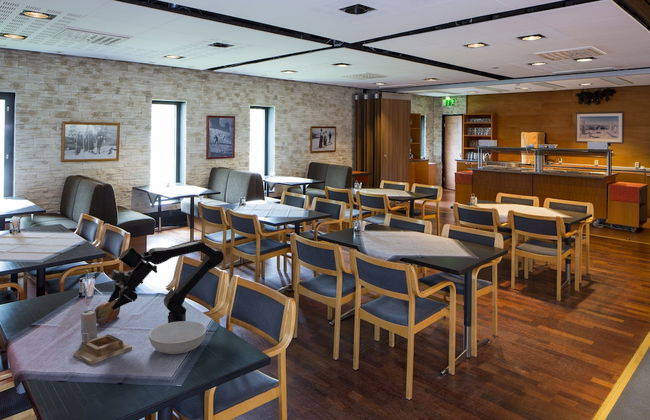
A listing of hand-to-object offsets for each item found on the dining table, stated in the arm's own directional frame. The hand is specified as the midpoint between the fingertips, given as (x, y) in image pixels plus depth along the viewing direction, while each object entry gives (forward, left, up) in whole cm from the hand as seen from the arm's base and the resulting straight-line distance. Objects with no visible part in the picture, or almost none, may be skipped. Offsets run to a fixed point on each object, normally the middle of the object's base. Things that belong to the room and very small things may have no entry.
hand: (110, 305), depth 193 cm
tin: (+13, -15, -14) cm, 24 cm away
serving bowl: (-30, +3, -14) cm, 33 cm away
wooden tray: (-5, +13, -13) cm, 19 cm away
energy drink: (+6, +6, -14) cm, 16 cm away
